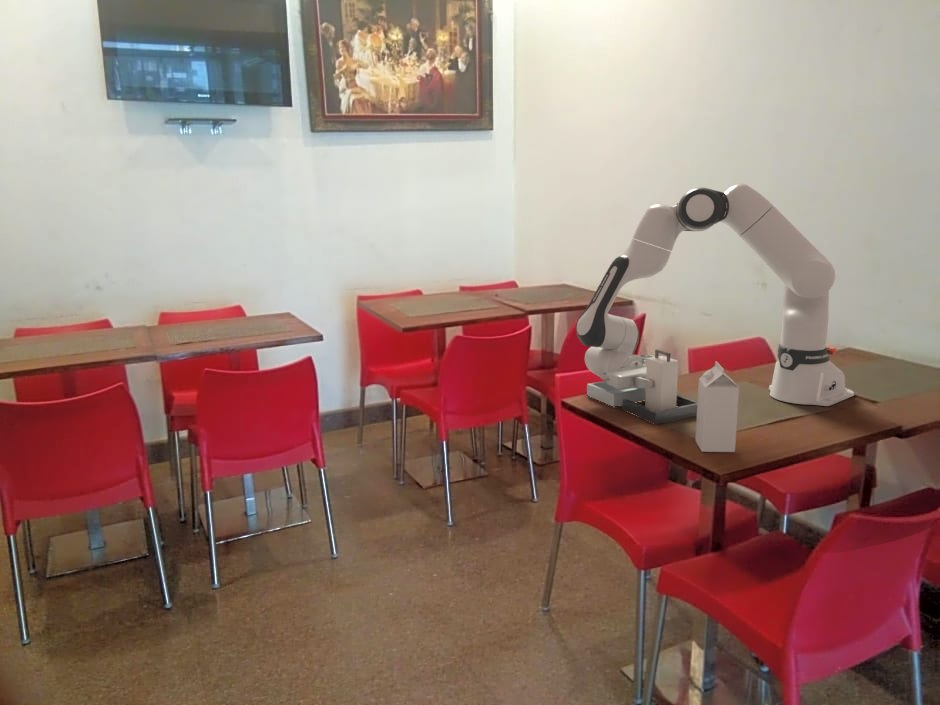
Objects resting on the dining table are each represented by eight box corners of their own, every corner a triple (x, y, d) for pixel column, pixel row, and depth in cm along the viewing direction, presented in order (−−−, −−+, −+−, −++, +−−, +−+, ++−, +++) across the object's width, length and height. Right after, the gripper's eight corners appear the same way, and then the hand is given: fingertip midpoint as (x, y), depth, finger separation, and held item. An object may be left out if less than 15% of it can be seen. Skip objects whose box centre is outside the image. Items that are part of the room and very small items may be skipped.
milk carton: (727, 441, 164) (732, 361, 160) (735, 453, 157) (740, 369, 153) (695, 441, 165) (699, 361, 160) (701, 452, 158) (706, 369, 154)
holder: (667, 401, 194) (667, 390, 193) (702, 414, 183) (702, 403, 182) (622, 410, 188) (622, 399, 187) (655, 424, 176) (656, 413, 176)
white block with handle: (660, 407, 189) (662, 347, 185) (675, 413, 184) (678, 352, 180) (644, 410, 187) (647, 350, 183) (660, 416, 182) (663, 355, 178)
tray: (632, 387, 207) (633, 375, 206) (660, 398, 197) (661, 385, 196) (587, 395, 200) (587, 383, 200) (613, 407, 190) (613, 394, 189)
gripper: (596, 364, 190) (630, 376, 178) (657, 354, 199) (693, 365, 187) (596, 387, 192) (629, 400, 180) (656, 376, 200) (692, 388, 188)
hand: (662, 382), depth 183 cm, fingers closed on white block with handle, 5 cm apart
